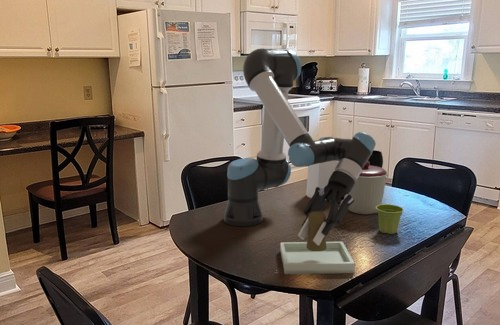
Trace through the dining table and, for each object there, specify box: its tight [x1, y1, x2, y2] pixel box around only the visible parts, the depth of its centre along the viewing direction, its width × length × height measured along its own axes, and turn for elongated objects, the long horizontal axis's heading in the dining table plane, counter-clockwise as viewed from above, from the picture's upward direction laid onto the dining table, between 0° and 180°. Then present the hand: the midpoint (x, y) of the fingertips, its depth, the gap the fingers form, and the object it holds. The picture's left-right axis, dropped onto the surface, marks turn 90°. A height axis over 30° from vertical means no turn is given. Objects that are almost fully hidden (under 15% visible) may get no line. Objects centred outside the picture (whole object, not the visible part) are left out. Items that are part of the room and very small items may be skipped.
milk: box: [305, 161, 339, 200], centre depth 195 cm, size 12×12×26 cm
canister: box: [348, 161, 389, 215], centre depth 177 cm, size 18×18×21 cm
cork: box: [306, 211, 327, 251], centre depth 130 cm, size 6×6×11 cm
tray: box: [279, 241, 356, 275], centre depth 132 cm, size 20×16×3 cm
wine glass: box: [368, 149, 384, 168], centre depth 199 cm, size 10×10×20 cm
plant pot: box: [376, 203, 405, 235], centre depth 156 cm, size 9×9×9 cm
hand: (308, 240), depth 129 cm, fingers closed on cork, 5 cm apart
